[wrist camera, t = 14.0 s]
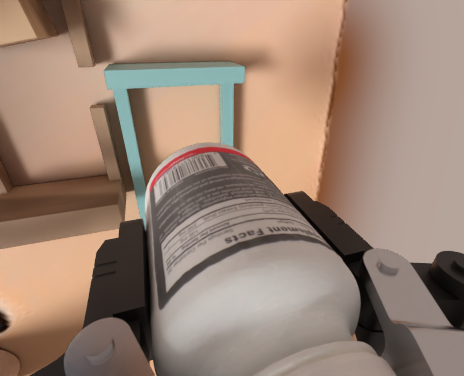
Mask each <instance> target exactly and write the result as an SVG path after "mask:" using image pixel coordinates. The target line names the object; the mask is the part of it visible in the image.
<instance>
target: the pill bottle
mask: <svg viewBox="0 0 464 376" xmlns="http://www.w3.org/2000/svg"><path fill="white" fill-rule="evenodd" d="M145 217H146V228H145V229H146V242H147V243H146V244H147V257H148V267H149V288H150V324H151V346H152V354H153V362H154V368H155V372H156V375H157V376H397V375H396V374H395V373H394V371H393V370H392V368H391V367H390V365H389V364H388V362H387V361H386V360H384V359H383V358H381V357H379V356H378V355H377V353H376V351H375V350H374V349H373V348H372V347H371V346H370V345H368V344H367V343H364V342H360V341H355V340H354V339H353V338H352V336H353V334H354V332H355V330H356V327H357V324H358V320H359V315H360V306H361V301H360V292H359V288H358V285H357V282H356V280H355V278H354V276H353V274H352V273H351V271H350V270H349V268H348V267H347V266H346V264H345V263H344V262H343V260H342V258H341V257H340V256H339V255H338V254H337V253H336V252H335V251H334V250H333V249H332V248H331V246H330V245H329V244H328V243H327V242H326V241H325V240H324V239H323V238H322V237H321V236H320V235H319V234H318V232H317V231H316V230H315V229H314V228H313V227H312V226H311V225H310V223H309V222H308V221H307V220H306V219H305V218H304V217H303V216H302V215H301V213H300V212H298V210H297V209H296V208H295V207H294V206H293V205H292V204H291V203H290V201H289V200H288V199H287V198H286V197H285V196H284V195H283V194H282V193H281V191H280V190H279V189H278V188H277V187H276V185H275V184H274V183H273V182H272V181H271V180H270V179H269V178H268V177H267V176H266V175H265V174H264V173H263V172H262V171H261V170H260V169H259V167H258V166H257V165H255V164H254V162H253V161H252V160H251V159H250V158H249V157H248V156H246V155H245V154H244V153H243V152H241V151H239V150H238V149H235V148H234V147H231V146H229V145H226V144H220V143H197V144H194V145H191V146H188V147H185V148H182V149H180V150H178V151H176V152H175V153H173V154H172V155H170V156H169V157H167V158H166V159H165V160H164V161H163V162H162V163H161V164H160V165H159V166H158V167H157V169H156V170H155V171H154V173H153V174H152V176H151V178H150V181H149V183H148V185H147V190H146V194H145Z"/></svg>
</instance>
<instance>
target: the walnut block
mask: <svg viewBox="0 0 464 376" xmlns="http://www.w3.org/2000/svg"><path fill="white" fill-rule="evenodd" d="M55 36H58V34H57V32H56V30H55V28H54V26H53V24H52V22H51V19H50V17H49V15H48V13H47V11H46V9H45V7H44V4H43V2H42V0H0V47H4V46H9V45H14V44H19V43H25V42H30V41H35V40H40V39H45V38H50V37H55Z"/></svg>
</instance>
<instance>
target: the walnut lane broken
mask: <svg viewBox="0 0 464 376" xmlns="http://www.w3.org/2000/svg"><path fill="white" fill-rule="evenodd" d="M61 4H62V8H63V11H64V15H65V19H66V22H67V26H68V30H69V34H70V37H71V41H72V45H73V48H74V52H75V56H76V59H77V63H78V67H94V66H95V61H94V57H93V52H92V48H91V44H90V40H89V36H88V31H87V27H86V23H85V19H84V15H83V11H82V6H81V2H80V0H61ZM90 111H91V115H92V119H93V122H94V126H95V130H96V134H97V137H98V141H99V145H100V148H101V152H102V156H103V159H104V163H105V167H106V171H107V174H108V175H106V176H98V177H89V178H81V179H73V180H65V181H57V182H49V183H41V184H33V185H25V186H17V187H13V185H12V183H11V181H10V179H9V177H8V175H7V173H6V171H5V169H4V167H3V165H2V162H1V160H0V249H4V248H10V247H16V246H21V245H27V244H33V243H39V242H44V241H50V240H56V239H62V238H67V237H73V236H79V235H85V234H90V233H96V232H102V231H108V230H114V229H119V226H120V222H124V221H125V207H126V191H125V186H124V182H123V178H122V174H121V170H120V165H119V161H118V157H117V153H116V149H115V144H114V140H113V136H112V132H111V128H110V124H109V119H108V115H107V111H106V107H105V104H101V105H92V106H91V107H90Z"/></svg>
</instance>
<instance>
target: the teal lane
mask: <svg viewBox="0 0 464 376" xmlns="http://www.w3.org/2000/svg"><path fill="white" fill-rule="evenodd" d="M104 74H105V79H106V83H107V88H108V90H109V89H113V93H114V97H115V102H116V107H117V111H118V116H119V120H120V125H121V130H122V134H123V139H124V143H125V148H126V153H127V157H128V162H129V166H130V171H131V176H132V180H133V185H134V189H135V194H136V199H137V203H138V208H139V212H140V217H141V219H143V221H144V226H145V228H146V217H145V194H146V185H145V179H144V174H143V169H142V164H141V158H140V153H139V148H138V143H137V137H136V132H135V127H134V122H133V116H132V111H131V106H130V101H129V95H128V90H127V89H130V88H151V87H172V86H193V85H214V84H219V86H220V141H221V144H226V145H229V146H231V147H233V118H234V84H235V83H244V79H245V66H242V65H239V64H237V63H234V62H231V61H218V62H178V63H138V64H109V65H108V66H107V67H106V69H105V70H104ZM145 230H146V229H145Z"/></svg>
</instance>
